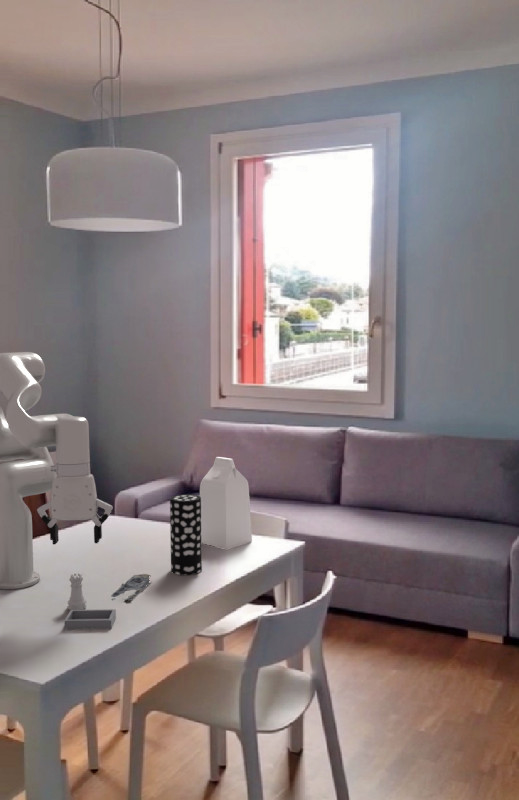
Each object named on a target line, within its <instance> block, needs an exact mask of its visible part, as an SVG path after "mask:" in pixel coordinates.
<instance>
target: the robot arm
mask: <svg viewBox="0 0 519 800" xmlns="http://www.w3.org/2000/svg"><path fill="white" fill-rule="evenodd" d="M45 374H46V366H45V363H44V361H43V359H42V358H41V357H40V356H39V355H38V354H37V353H35V352H31V351H24V352H23V351H19V352H18V351H16V352H0V393H1V394H2V395H3V397H4V398H5V399H6V401H7V405H6V408H5V409H6V410H5V413H4V411H3V408H2V407H1V406H0V462H1V463H0V590H17V589H23V588H27V587H31V586H33V585H35V584H37V583H38V582H39V581H41V575H40V573H38V572H37V571H34V545H33V544H34V542H33V519H32V518H33V516H32V512H31V510H30V507H28V505H27V504H26V503H25V501H24V500H23V498H25V497H29V496H30V497H31V496H35V495H40V494H44V493H49V492H50V491H51V500H49V501H48V502H47V503H46V502H45V504H43V505H41V506H39V507H38V508H37V509H36V511H37V513H38V515H39V517H40V518H41V520H42V521H43V522H44V523H45V524H46V525H47V527H48V528H49V539H50V541H52V545H56V544H57V543H58V542H59V524H57V523H58V521H84V520H85V521H87V520H91V521H92V523H94V526H93V539H94V541H93V542H94V544H99V542H100V540H101V539H102V537H103V530H102V529H103V527H102V525H103V524H104V523H105V521H106V520H108V518H109V516H110V514H111V513H112V510H113V505H111V504H109V503H108V502H105V501H103V500H101V499H99V498H98V495H97V487H96V486H97V485H96V482H95V481H96V480H95V477H94V475H93V474H92V473H91V460H90V459H91V458H90V433H89V432H90V431H89V429H90V428H89V427H90V425H89V421H88V419H87V418H85V416H76V415H75V416H73V415H71V414H69V413H52V414H43V415H42V414H41V415H32V416H30V415H29V414H28V413H27V412H28V411H29V410H30V409H31V408H33V407H34V406H35V405H36V404H38V402H39V401H40V399H41V397H42V391H43V390H42V386H41V384H39V383H41V382H42V381H43V379H44V377H45ZM48 447H55V453H56V456H55V457H56V464H55V463H54V461H53V459H52V456H51V454H50V451H49V449H48ZM99 508H101V509H104V513H103V514H102V515H101V516H100V515H99V514H98V509H99ZM49 509H51V510H50V511H51V512H50V513H51V517H52V518H51V517H50V516H49V515H48V514H47V512H46V511H47V510H49Z"/></svg>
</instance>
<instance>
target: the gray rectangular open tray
mask: <svg viewBox="0 0 519 800" xmlns="http://www.w3.org/2000/svg"><path fill="white" fill-rule="evenodd" d="M116 615H117V611H116V609H115V608H113V609H112V608H110V609H107V608H105V609H103V608H101V609H83V610H69V612H68V614H67V615H66V617H65V619H64V630H112V628H113V626H114V623H115V621H116V618H117V616H116Z"/></svg>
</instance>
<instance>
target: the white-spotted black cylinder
mask: <svg viewBox="0 0 519 800" xmlns="http://www.w3.org/2000/svg"><path fill="white" fill-rule="evenodd" d="M169 516H170V517H169V519H170V520H169V521H170V522H169V523H170V525H169V527H170V530H169V531H170V532H169V533H170V572H171V573H172V574H174V575H179V576H191V575H192V574H193V575H197V574H199V573H201V572H202V570H203V566H202V565H203V560H202V559H203V557H202V556H203V555H202V550H203V549H202V545H203V544H202V543H201V497H200V495H196V494H177V495H173V496H170V497H169Z"/></svg>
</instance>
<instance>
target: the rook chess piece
mask: <svg viewBox="0 0 519 800" xmlns="http://www.w3.org/2000/svg"><path fill="white" fill-rule="evenodd" d="M83 580H84V577H83V575H82V574H81V573H74V574H71V575H70V578H69V580H68V581H69V582H70V583H71V584H70V588H71V589H70V596H69V599H68V601H67V609H68V610H69V611H70V610H86V608H87V604H86V603H87V601H86V599H85V596H84V594H83V583H82V582H83Z"/></svg>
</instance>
